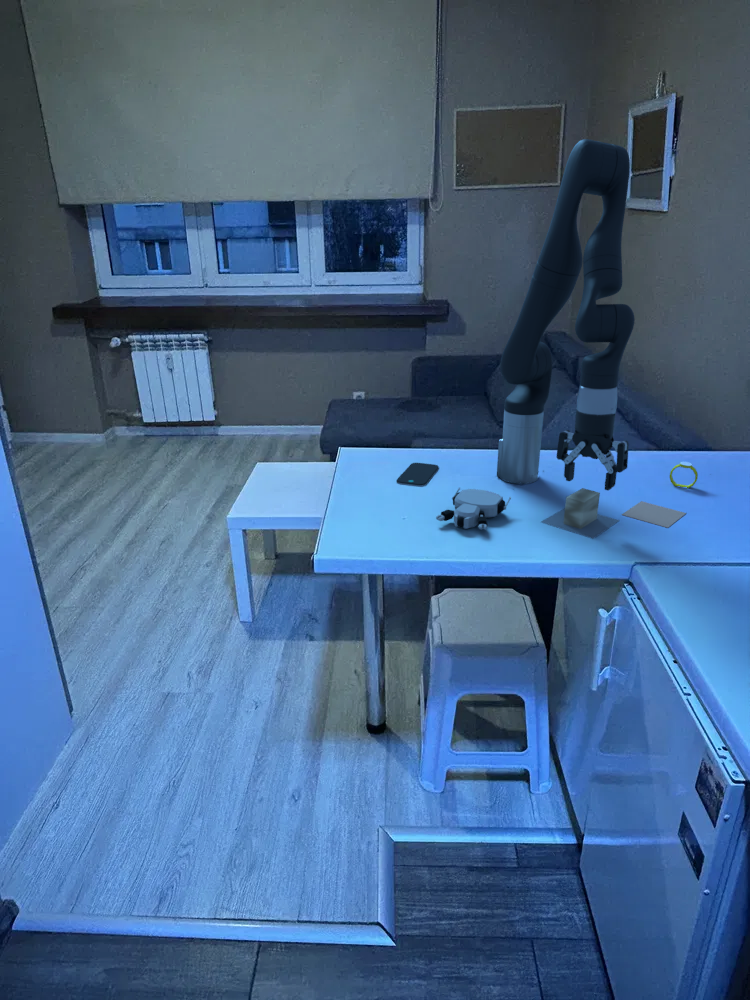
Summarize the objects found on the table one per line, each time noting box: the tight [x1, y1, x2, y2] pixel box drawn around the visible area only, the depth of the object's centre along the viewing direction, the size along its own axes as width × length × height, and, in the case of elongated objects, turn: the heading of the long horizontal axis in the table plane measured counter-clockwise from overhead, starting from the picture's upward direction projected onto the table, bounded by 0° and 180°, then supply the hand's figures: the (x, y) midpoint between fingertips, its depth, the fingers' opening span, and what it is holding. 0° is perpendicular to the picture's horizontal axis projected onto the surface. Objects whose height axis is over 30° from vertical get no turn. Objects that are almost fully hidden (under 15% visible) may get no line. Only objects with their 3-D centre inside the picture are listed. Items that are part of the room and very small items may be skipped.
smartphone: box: [396, 462, 440, 487], centre depth 172 cm, size 8×1×15 cm
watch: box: [669, 461, 699, 489], centre depth 162 cm, size 6×3×6 cm, turn 59°
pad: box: [621, 500, 687, 529], centre depth 148 cm, size 10×10×1 cm
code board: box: [540, 507, 620, 540], centre depth 145 cm, size 12×12×1 cm
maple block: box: [563, 487, 601, 529], centre depth 143 cm, size 4×7×6 cm, turn 137°
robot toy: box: [435, 487, 512, 530], centre depth 146 cm, size 12×4×15 cm
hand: (588, 484), depth 141 cm, fingers open, 8 cm apart
